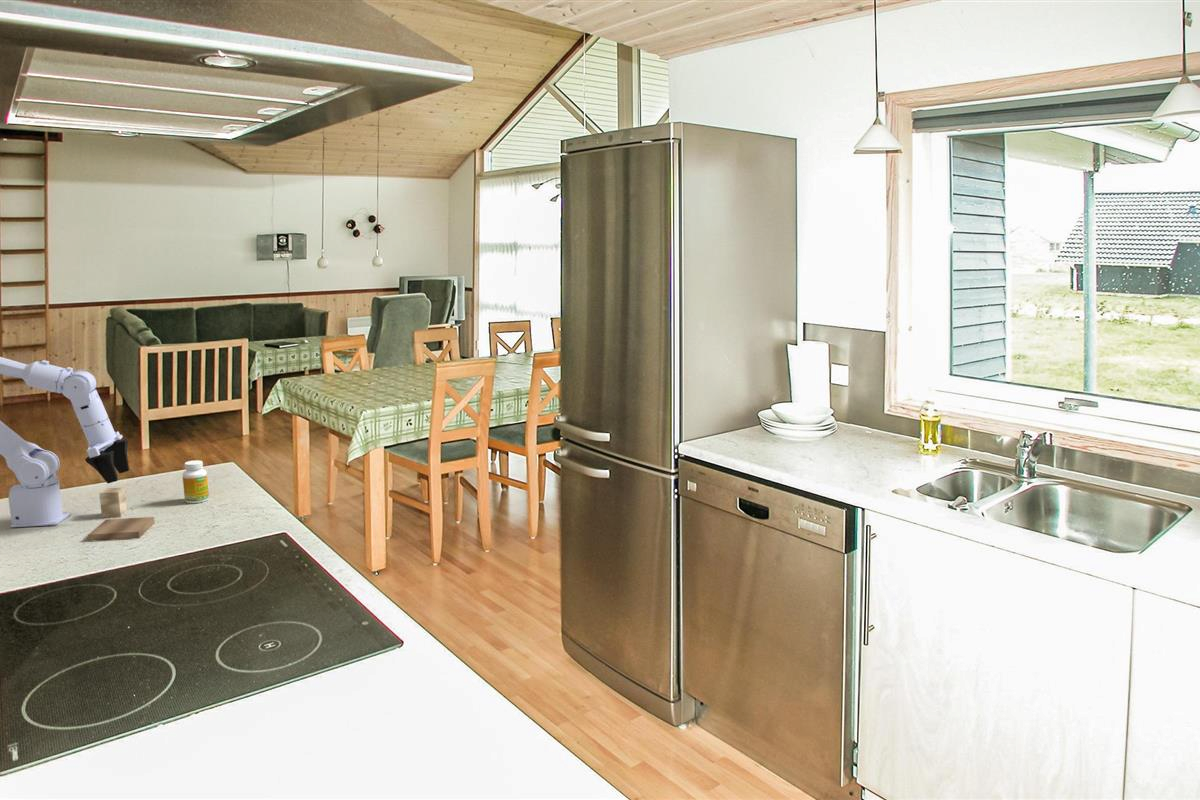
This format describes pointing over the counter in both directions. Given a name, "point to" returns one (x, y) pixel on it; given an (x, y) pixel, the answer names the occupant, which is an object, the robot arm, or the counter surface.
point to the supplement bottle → (195, 482)
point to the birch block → (113, 502)
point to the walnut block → (121, 528)
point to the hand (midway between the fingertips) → (118, 476)
